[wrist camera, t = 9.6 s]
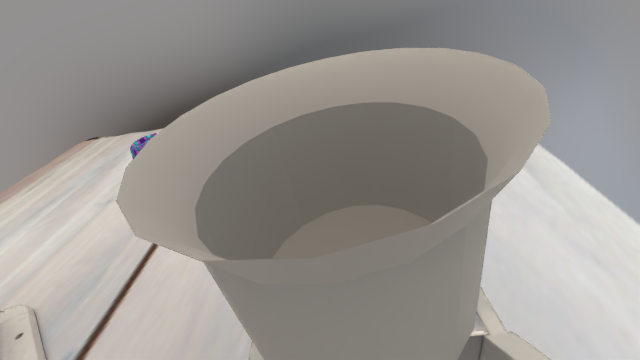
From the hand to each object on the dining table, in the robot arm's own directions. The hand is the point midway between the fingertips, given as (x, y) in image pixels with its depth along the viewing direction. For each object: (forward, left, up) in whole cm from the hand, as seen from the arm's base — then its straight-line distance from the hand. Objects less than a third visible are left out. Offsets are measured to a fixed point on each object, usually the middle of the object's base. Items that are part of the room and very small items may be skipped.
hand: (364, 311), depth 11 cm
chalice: (+1, -1, -10) cm, 10 cm away
